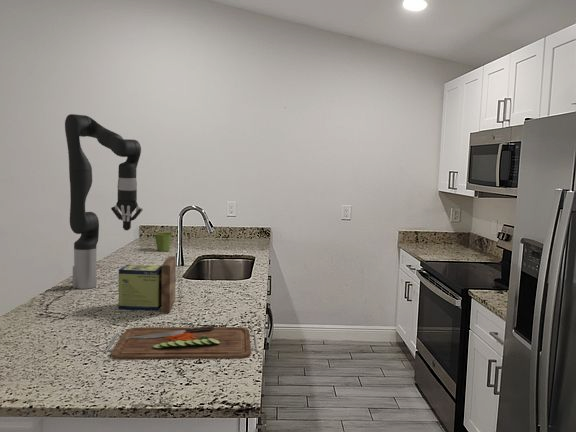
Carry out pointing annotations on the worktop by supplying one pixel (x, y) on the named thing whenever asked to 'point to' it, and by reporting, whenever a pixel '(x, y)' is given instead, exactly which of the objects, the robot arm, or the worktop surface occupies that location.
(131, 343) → the chopping board
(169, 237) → the plant pot
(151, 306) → the protein box
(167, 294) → the board
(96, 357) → the worktop surface
